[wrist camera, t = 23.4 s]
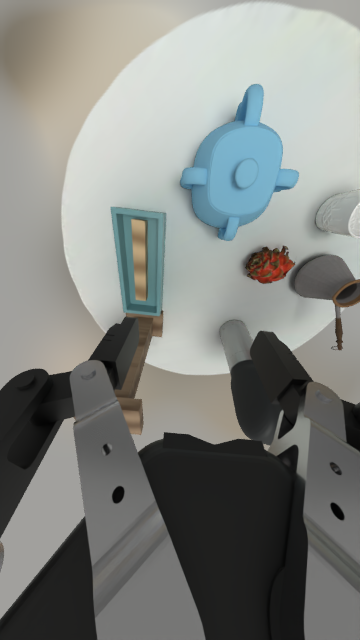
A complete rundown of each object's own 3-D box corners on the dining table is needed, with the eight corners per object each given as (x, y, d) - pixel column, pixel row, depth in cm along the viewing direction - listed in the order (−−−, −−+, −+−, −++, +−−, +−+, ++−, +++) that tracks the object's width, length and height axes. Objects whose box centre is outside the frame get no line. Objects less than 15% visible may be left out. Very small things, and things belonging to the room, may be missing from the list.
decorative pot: (212, 244, 40) (222, 257, 29) (174, 177, 33) (168, 159, 22) (277, 196, 34) (322, 188, 23) (248, 100, 27) (292, 23, 16)
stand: (127, 306, 52) (65, 404, 25) (163, 310, 52) (138, 411, 26) (129, 330, 57) (81, 429, 31) (162, 333, 58) (141, 434, 31)
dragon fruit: (237, 257, 43) (278, 256, 44) (239, 288, 43) (280, 286, 44) (255, 241, 34) (304, 240, 36) (257, 279, 34) (307, 277, 35)
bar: (134, 218, 36) (131, 219, 34) (147, 220, 37) (144, 220, 34) (138, 295, 48) (135, 299, 45) (148, 296, 48) (145, 301, 46)
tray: (119, 207, 36) (110, 206, 32) (166, 213, 36) (163, 213, 32) (128, 304, 51) (123, 312, 47) (162, 308, 51) (159, 316, 47)
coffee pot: (291, 259, 41) (336, 279, 29) (341, 246, 39) (412, 262, 27) (284, 322, 53) (314, 356, 41) (323, 315, 51) (366, 348, 38)
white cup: (316, 197, 34) (357, 192, 26) (358, 184, 32) (416, 175, 24) (309, 236, 38) (342, 243, 30) (346, 227, 37) (392, 231, 28)
